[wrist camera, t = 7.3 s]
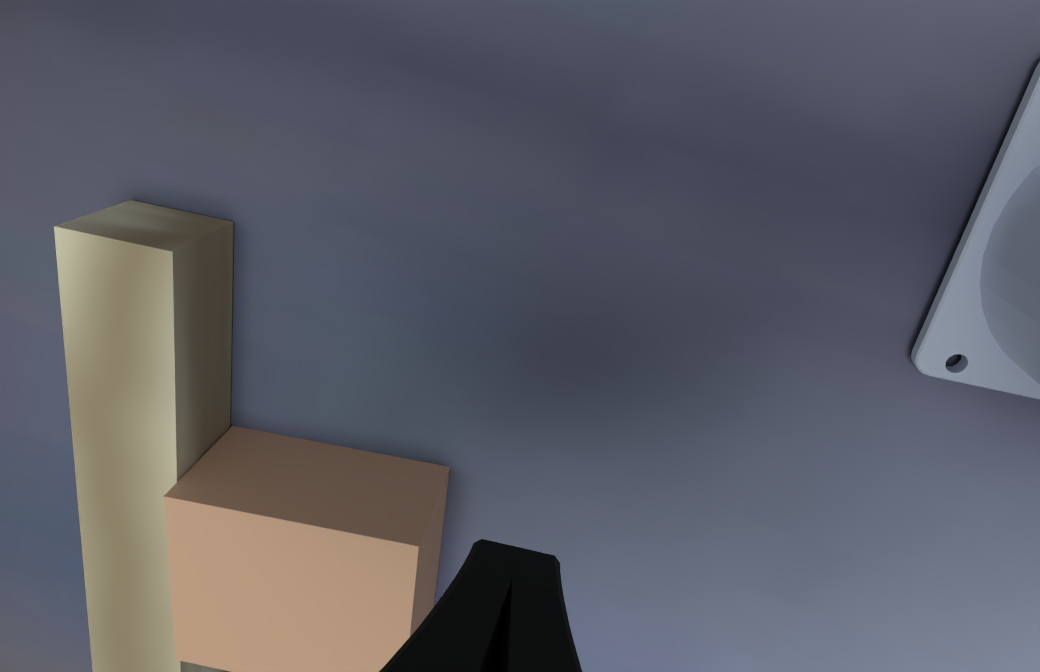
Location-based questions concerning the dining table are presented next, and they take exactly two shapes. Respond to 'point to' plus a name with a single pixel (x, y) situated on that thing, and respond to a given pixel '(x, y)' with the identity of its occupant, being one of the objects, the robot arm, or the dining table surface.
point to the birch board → (141, 404)
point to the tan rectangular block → (301, 554)
